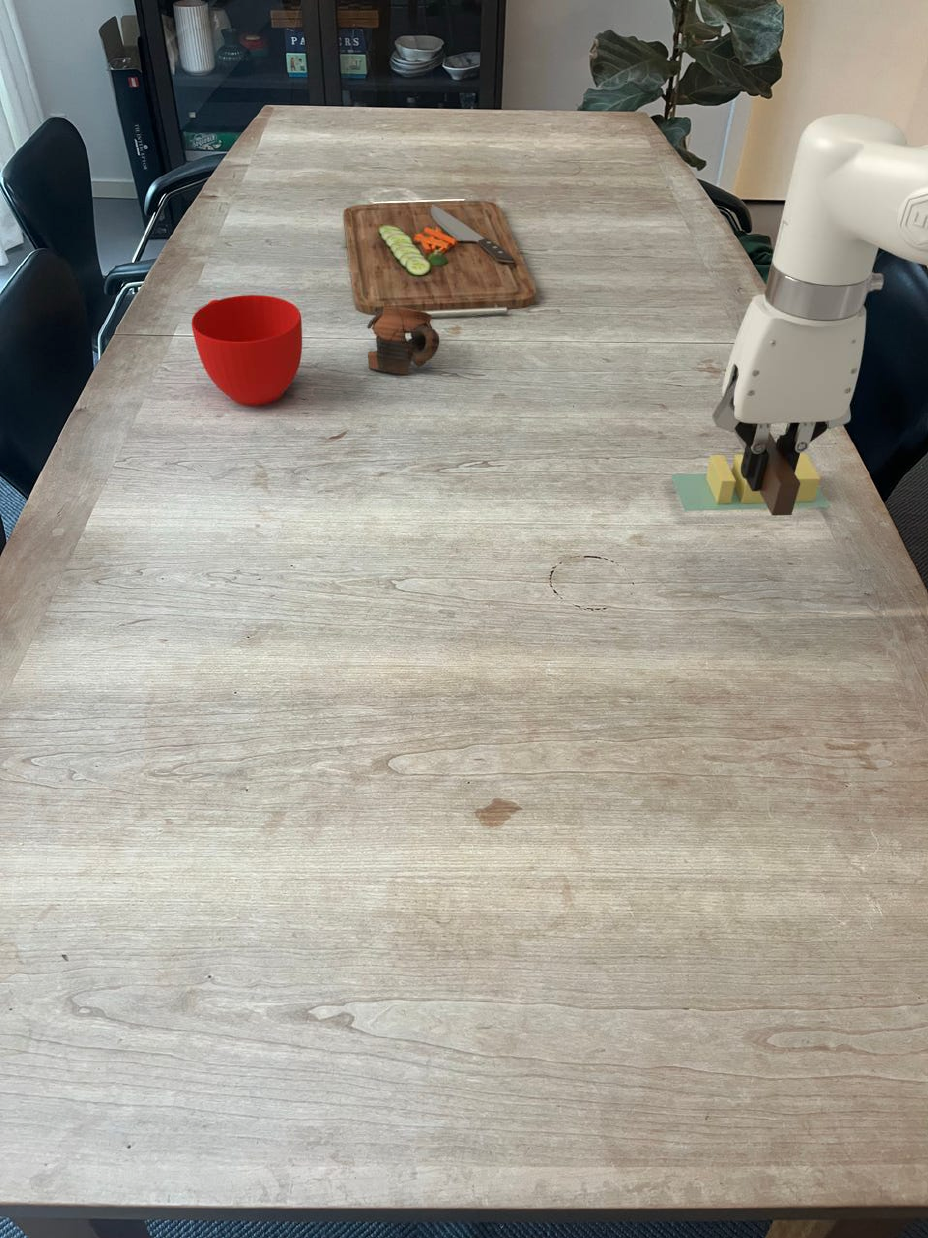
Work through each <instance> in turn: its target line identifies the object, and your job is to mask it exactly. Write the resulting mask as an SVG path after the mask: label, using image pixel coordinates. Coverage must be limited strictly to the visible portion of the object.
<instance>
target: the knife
mask: <svg viewBox="0 0 928 1238" xmlns="http://www.w3.org/2000/svg"><path fill="white" fill-rule="evenodd" d="M722 399H723V397H722ZM722 399H721V400H722ZM734 434H735V437H736V438H737V440H738V442H739V443H740V445H741V447H742V449H743V450H744V451H745V447H746V443H745V442H744V441H743V440H742V439H741V437H740V436H739V435H738V434H737V433H735V432H734ZM776 442H777V440H775V438H774V437H773V435H772V433H771V431H770V432H769V436H768V440H767V446H766V450H767V452H768V453H769V460H768V462H767V465H766V469H765V473H764V477H763V481H762V485H761V488H760V490H759V492H760V494H761V496H762V498H763V500H764V501H765V503H766V505H767V507H768V509H767V510H768V511H769V513H770V514H771V516H773V517H775V516H777V517H778V516H792V514H793V511H794V509H795V508H794V504H795V501H796V497H797V494H798V490H799V487H800V481H799V480H798V478H797V476H796V475H795V473H794V471H793V470H792V468H791V466H790V465H789V463H788V461H787V460H786V458H785V457H784V455H783V453H782V452H781V450H780V448H779V447H778V445H777V443H776ZM744 451H743V452H744Z"/></svg>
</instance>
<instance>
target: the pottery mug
mask: <svg viewBox="0 0 928 1238" xmlns="http://www.w3.org/2000/svg"><path fill="white" fill-rule="evenodd" d="M375 311H376V312H377V313H376V314H375V316H374V317H372V318H371V319H370V320H369V322H368V323H367V326H366V327H367V329H368V330H369V329H371V330H372V331H373V334H374V335H375V336H376V337H375V341H376V342H375V343H376V350H370V351H368V352H367V360H368V368H369V369H370V370H374V371H375V370H377V371H384V372H386V373H390V374H399V375H409V372H410V367H411V363H413V364H414V365H415V366H416V367H418V368H420V367H422V366H424V365H426V363H427V362H428V361H430V360H432V359H433V358H434V356H435V355H436V353H437V352H438V349H439V347H440V336H439V334H438V332H437V331H436V329H434V328H433V325H432V324H431V321H432V320H431V319H433V318H432V317H433V316H431V315H430V314H428V313H426V312H422V311H418V310H413V309H407V308H396V307H385V306H381V307H376V309H375ZM406 334H410V339H408V340H407V338H406Z"/></svg>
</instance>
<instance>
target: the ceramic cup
mask: <svg viewBox="0 0 928 1238" xmlns="http://www.w3.org/2000/svg"><path fill="white" fill-rule="evenodd" d="M302 325H303V323H302V314H301V312H300V310H299V309H298V307H297V306H296V305H295V304H293V303H292V302H290V301H289V300H285V299H283V298H280V297H275V296H271V295H270V296H269V295H262V294H246V295H244V294H243V295H236V296H230V297H225V298H221V299H212V300H210V301H209V302H208V303H207V304H206V305H204V306H202V307H200V308H199V309H198V310H197V311H196V312H195V313H194V315H193V316H192V319H191V329H192V334H193V339H194V343H195V345H196V349H197V352H198V355H199V358H200V360H201V364H202V366H203V368H204V370H205V373H207V375H208V377H209V378H210V380H211V381H212V382H213V383H214V385H215V386H216V387H217V388H218V389H219V390H220V391H221V392H223V394H225V395H227V396H228V397H229V398H231V400H232V401H234V402H235V403H238V404H240V405H243V406H251V407H252V406H263V405H269V404H271V403H274V402H276V401H277V400H279V399H280V398H281V397H282V396H283V394H284V393H285V391H287V389H288V388H289V387H290V385H291V384H292V383H293V382H294V380H295V377H296V376H297V373H298V370H299V367H300V364H301V359H302V352H303V326H302Z"/></svg>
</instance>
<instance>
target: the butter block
mask: <svg viewBox="0 0 928 1238" xmlns="http://www.w3.org/2000/svg"><path fill="white" fill-rule="evenodd" d="M743 455H744V454H735V455H734V457H733V462H732V466H731V469H730V470H731V472H732V474H733V476H734V478H735V480H736V481H735V486H734V488H735V490H736V492H737V494H738V497H739V499H740V501H741V503H765V501H764V500H763V498H762V496H761V494H760V492H759V491H752V490H751V488H750V486H749V484H748V482H747V480H746V478H743V477H742V475H741V464H742V460H743ZM795 475H796V476H797V478H798V480H799V481H800V487H799V490H798V494H797V497H796V501H795V502H814V499H815V496H816V493H817V489H818V486H820V482H821V477H820V475H819V473H818V471H817V469H816V468H815V466H814V465H813V462H812V461H811V459H810V458H809V456H808V454H807V453H806V452H802V453H800V456H799V460H798V463H797V467H796V471H795Z"/></svg>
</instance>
